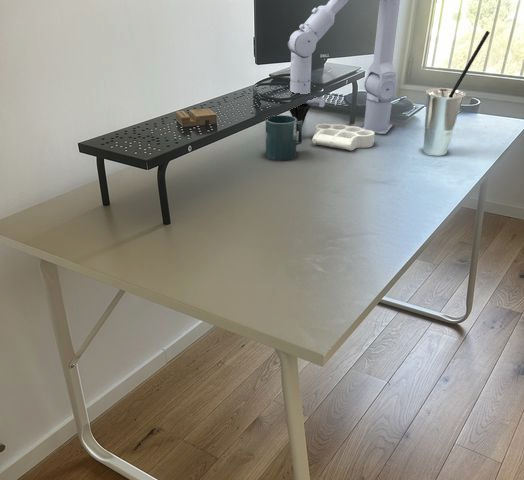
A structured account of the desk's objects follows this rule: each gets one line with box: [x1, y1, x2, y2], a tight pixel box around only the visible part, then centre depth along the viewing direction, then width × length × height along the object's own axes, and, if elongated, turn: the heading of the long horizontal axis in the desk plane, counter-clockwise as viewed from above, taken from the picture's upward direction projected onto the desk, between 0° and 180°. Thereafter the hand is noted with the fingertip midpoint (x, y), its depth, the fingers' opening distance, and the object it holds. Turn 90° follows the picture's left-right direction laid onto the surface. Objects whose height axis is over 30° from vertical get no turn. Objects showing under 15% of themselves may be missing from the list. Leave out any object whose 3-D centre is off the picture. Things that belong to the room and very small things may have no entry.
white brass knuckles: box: [311, 123, 376, 152], centre depth 159 cm, size 3×18×15 cm
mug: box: [265, 114, 304, 162], centre depth 150 cm, size 11×8×10 cm
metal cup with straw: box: [422, 30, 491, 157], centre depth 144 cm, size 11×11×30 cm
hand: (298, 130), depth 163 cm, fingers closed
